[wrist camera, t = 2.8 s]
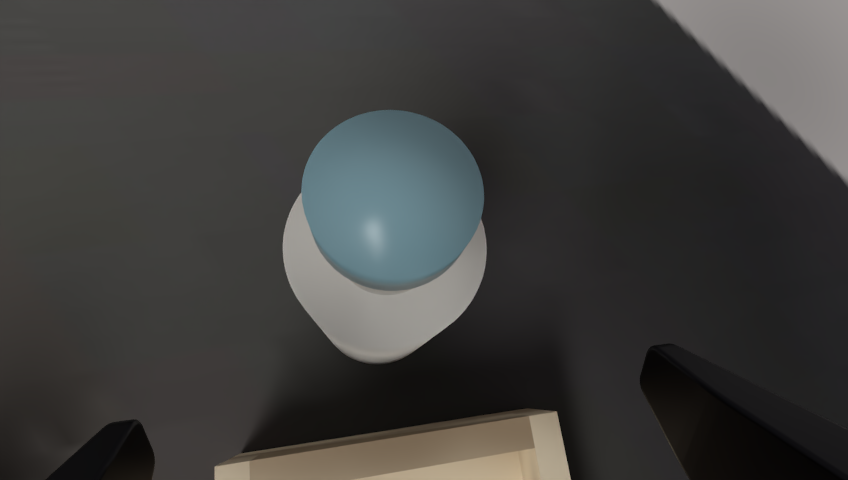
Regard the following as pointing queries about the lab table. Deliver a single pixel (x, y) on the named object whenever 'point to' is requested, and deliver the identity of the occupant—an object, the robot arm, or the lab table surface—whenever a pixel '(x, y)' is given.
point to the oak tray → (421, 453)
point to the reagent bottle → (386, 234)
